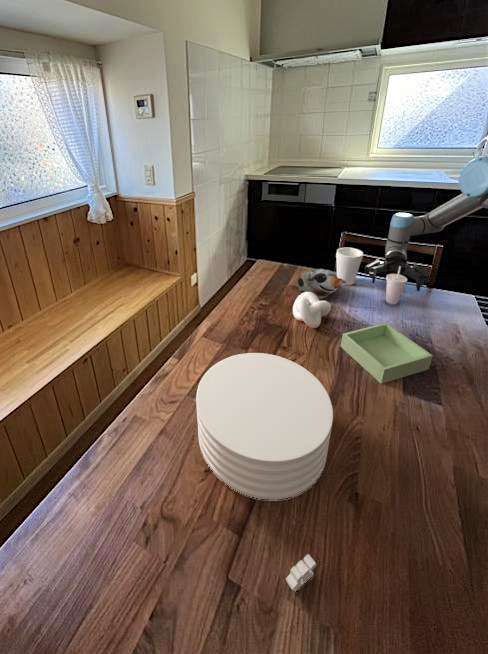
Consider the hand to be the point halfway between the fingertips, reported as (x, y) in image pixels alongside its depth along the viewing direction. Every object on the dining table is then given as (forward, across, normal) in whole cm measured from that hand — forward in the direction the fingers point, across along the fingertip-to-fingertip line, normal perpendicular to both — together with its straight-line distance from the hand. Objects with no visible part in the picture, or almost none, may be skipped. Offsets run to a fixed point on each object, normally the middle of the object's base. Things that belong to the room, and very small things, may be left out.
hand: (395, 283), depth 117 cm
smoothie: (-1, 0, -8) cm, 8 cm away
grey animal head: (+3, +24, -8) cm, 26 cm away
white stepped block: (+93, +12, -8) cm, 94 cm away
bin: (+32, +2, -8) cm, 33 cm away
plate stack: (+71, +25, -8) cm, 76 cm away
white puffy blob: (+22, +23, -8) cm, 33 cm away
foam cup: (-10, +16, -8) cm, 21 cm away
